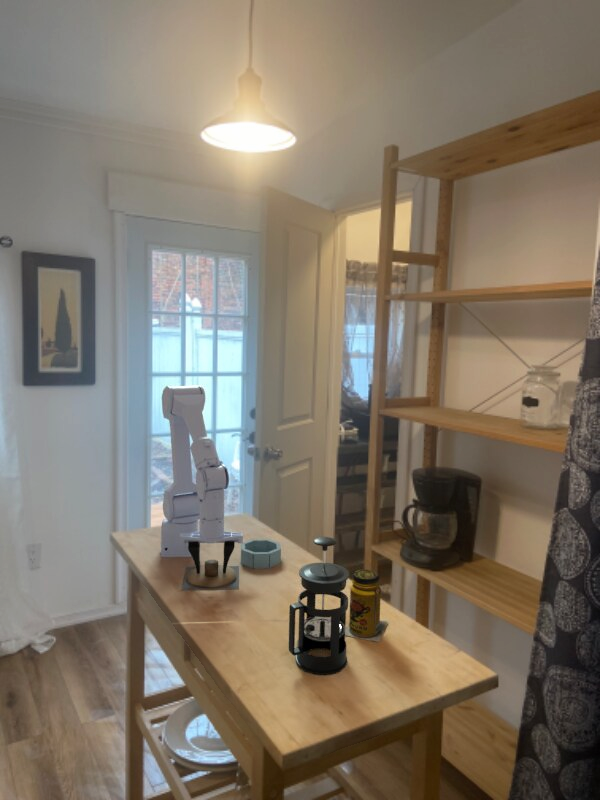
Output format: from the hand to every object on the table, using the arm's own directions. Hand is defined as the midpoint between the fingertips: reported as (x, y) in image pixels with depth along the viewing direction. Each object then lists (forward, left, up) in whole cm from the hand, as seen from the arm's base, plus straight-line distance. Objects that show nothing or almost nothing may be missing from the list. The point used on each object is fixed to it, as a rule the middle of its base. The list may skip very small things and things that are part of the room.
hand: (211, 571), depth 142 cm
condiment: (+32, -25, -2) cm, 41 cm away
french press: (+21, -36, -2) cm, 42 cm away
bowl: (+12, +10, -2) cm, 16 cm away
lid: (0, 0, -1) cm, 1 cm away
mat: (0, 0, -2) cm, 2 cm away
